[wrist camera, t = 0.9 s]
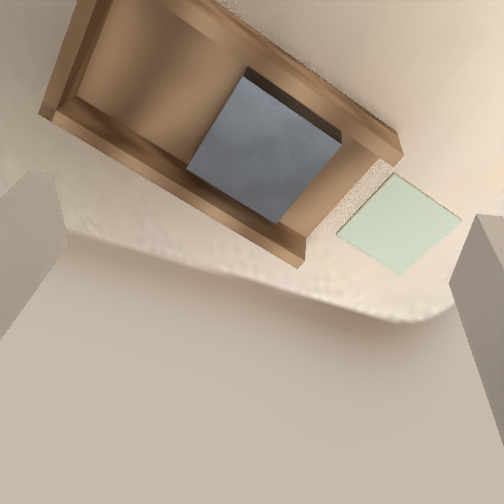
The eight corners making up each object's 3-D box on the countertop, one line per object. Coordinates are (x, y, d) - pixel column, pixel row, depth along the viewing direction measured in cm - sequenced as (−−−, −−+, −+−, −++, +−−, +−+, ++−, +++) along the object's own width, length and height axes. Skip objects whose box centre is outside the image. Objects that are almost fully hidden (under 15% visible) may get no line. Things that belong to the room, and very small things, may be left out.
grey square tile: (193, 155, 36) (185, 168, 35) (247, 66, 32) (242, 76, 30) (278, 208, 38) (276, 224, 36) (341, 131, 34) (341, 144, 32)
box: (64, 95, 36) (38, 113, 33) (124, -65, 29) (99, -62, 26) (299, 240, 41) (297, 268, 38) (396, 132, 34) (403, 155, 31)
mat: (336, 233, 40) (336, 235, 40) (393, 172, 36) (394, 174, 36) (399, 273, 42) (400, 275, 41) (461, 219, 38) (462, 221, 37)
